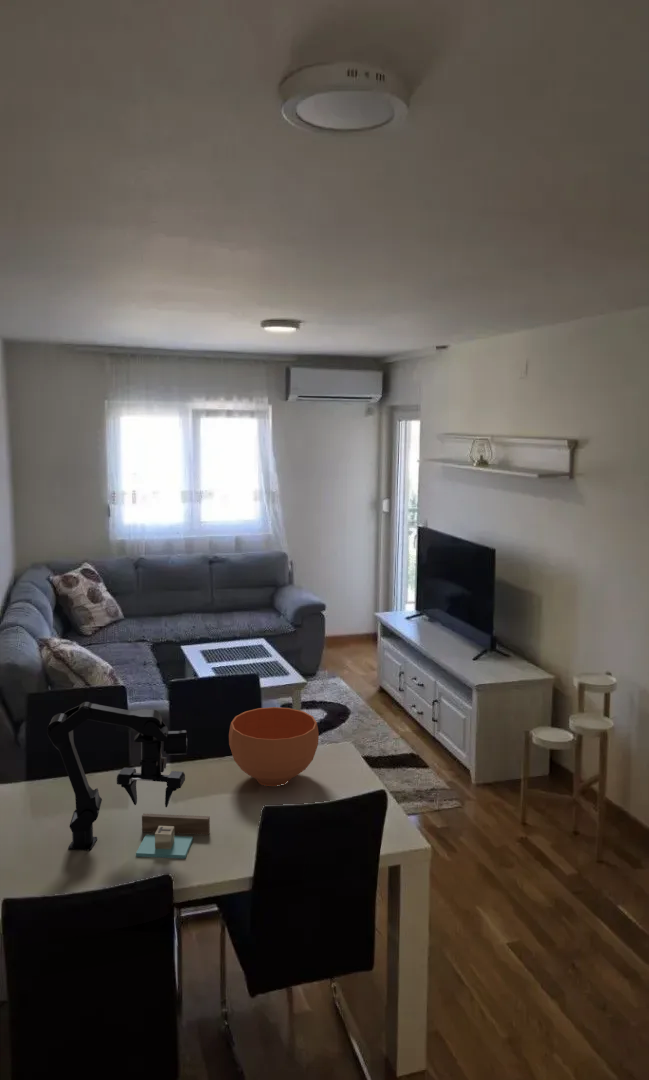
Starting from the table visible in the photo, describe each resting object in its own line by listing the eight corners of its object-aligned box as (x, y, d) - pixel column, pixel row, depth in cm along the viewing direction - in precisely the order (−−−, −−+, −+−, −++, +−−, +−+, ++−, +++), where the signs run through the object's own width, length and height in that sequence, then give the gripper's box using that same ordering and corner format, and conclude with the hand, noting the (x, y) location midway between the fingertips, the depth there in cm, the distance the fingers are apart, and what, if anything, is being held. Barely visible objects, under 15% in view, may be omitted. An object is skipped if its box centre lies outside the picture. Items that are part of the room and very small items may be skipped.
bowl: (333, 773, 275) (334, 717, 272) (286, 808, 249) (286, 747, 246) (262, 754, 290) (263, 700, 287) (211, 785, 264) (211, 727, 261)
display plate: (185, 858, 220) (185, 855, 220) (136, 856, 221) (135, 853, 221) (192, 839, 230) (192, 836, 230) (145, 837, 231) (145, 834, 231)
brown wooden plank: (208, 834, 233) (208, 819, 232) (142, 831, 234) (141, 816, 233) (209, 831, 235) (209, 816, 234) (143, 829, 236) (143, 813, 235)
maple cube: (170, 849, 223) (170, 834, 222) (155, 848, 223) (154, 833, 222) (174, 840, 227) (174, 826, 227) (159, 840, 228) (158, 825, 227)
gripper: (190, 745, 233) (189, 795, 235) (128, 741, 234) (128, 790, 237) (180, 761, 222) (179, 813, 224) (115, 757, 223) (116, 808, 226)
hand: (151, 805), depth 228 cm, fingers open, 9 cm apart
